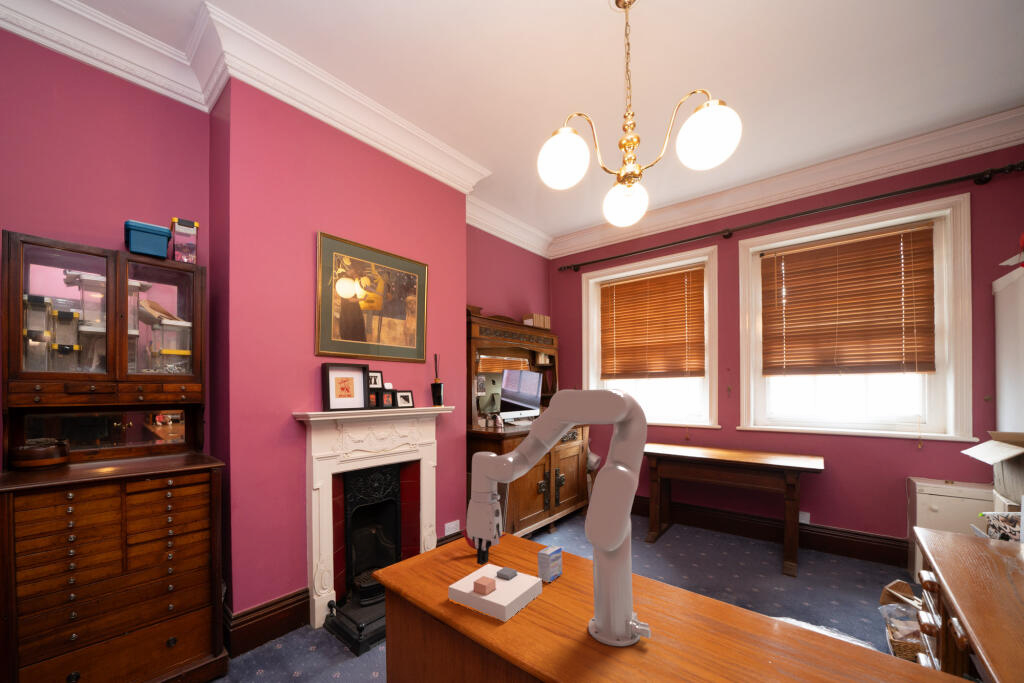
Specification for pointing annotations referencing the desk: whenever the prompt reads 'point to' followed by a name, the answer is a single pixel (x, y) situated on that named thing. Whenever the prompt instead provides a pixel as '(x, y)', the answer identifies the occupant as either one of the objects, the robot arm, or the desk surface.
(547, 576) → the medicine box
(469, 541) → the decorative bird figurine
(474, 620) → the desk surface
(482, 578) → the terracotta key
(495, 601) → the key console
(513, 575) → the grey key
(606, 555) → the robot arm
